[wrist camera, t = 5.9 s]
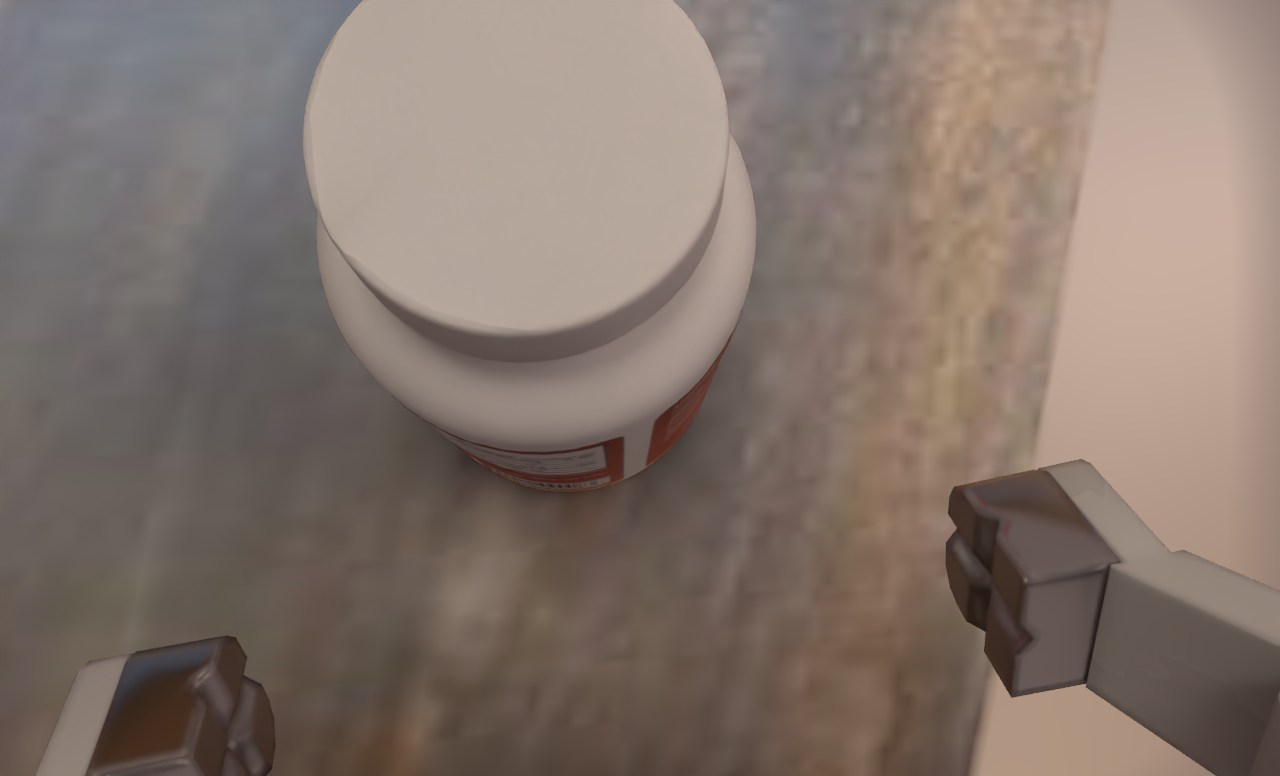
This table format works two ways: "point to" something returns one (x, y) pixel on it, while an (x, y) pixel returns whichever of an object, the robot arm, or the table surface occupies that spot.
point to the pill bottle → (532, 224)
